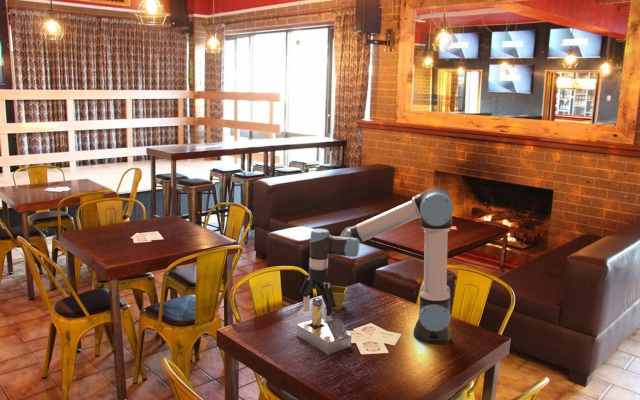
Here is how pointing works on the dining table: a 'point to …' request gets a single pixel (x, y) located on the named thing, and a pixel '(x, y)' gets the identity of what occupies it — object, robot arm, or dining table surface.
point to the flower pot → (338, 296)
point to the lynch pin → (316, 313)
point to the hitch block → (321, 337)
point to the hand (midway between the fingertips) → (316, 316)
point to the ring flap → (337, 330)
